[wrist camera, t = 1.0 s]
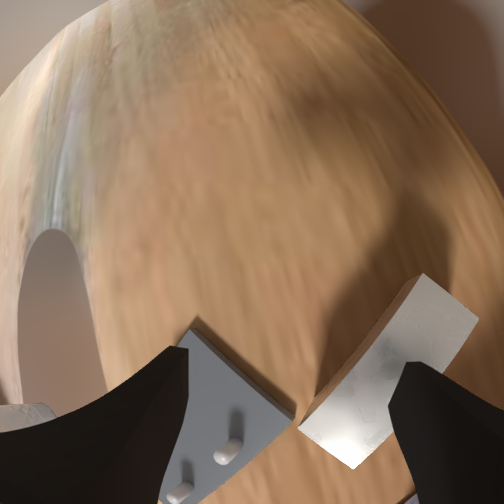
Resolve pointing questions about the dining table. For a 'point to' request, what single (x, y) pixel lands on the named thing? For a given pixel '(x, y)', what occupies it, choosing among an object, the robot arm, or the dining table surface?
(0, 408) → the white cup
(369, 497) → the dining table surface
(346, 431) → the block
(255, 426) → the pin tray
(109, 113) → the dining table surface
